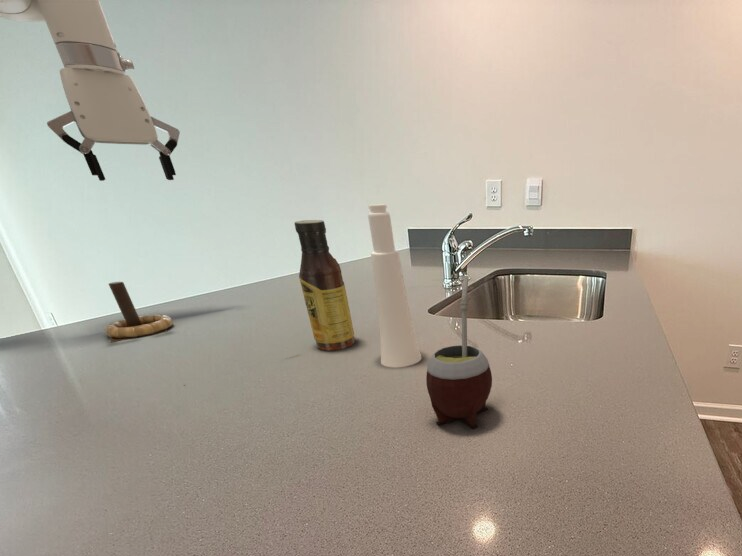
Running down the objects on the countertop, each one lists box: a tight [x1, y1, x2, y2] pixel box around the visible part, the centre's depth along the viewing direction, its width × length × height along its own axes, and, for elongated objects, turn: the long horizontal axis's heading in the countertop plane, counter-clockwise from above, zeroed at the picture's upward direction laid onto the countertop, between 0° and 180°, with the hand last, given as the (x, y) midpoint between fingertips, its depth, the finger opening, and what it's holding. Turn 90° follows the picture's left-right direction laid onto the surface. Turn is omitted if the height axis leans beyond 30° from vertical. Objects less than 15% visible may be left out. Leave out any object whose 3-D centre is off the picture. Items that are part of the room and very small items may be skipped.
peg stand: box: [108, 281, 168, 344], centre depth 74 cm, size 8×8×10 cm
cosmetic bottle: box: [367, 203, 422, 368], centre depth 57 cm, size 6×6×22 cm
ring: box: [104, 314, 174, 338], centre depth 76 cm, size 10×10×2 cm
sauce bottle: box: [294, 219, 356, 352], centre depth 64 cm, size 6×6×20 cm
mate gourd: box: [425, 275, 493, 430], centre depth 44 cm, size 8×8×15 cm
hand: (137, 180), depth 74 cm, fingers open, 9 cm apart
